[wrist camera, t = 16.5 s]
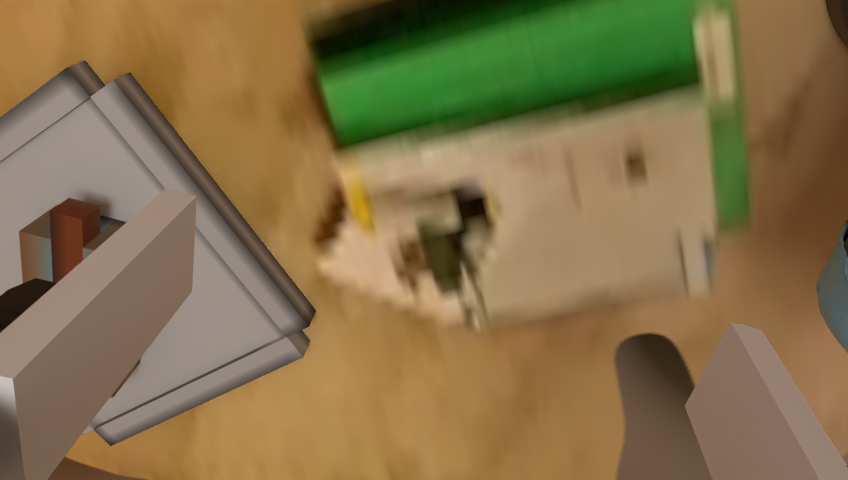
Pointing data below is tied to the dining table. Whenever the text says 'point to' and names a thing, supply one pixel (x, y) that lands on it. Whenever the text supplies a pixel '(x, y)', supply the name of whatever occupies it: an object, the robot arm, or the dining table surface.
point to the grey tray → (114, 206)
